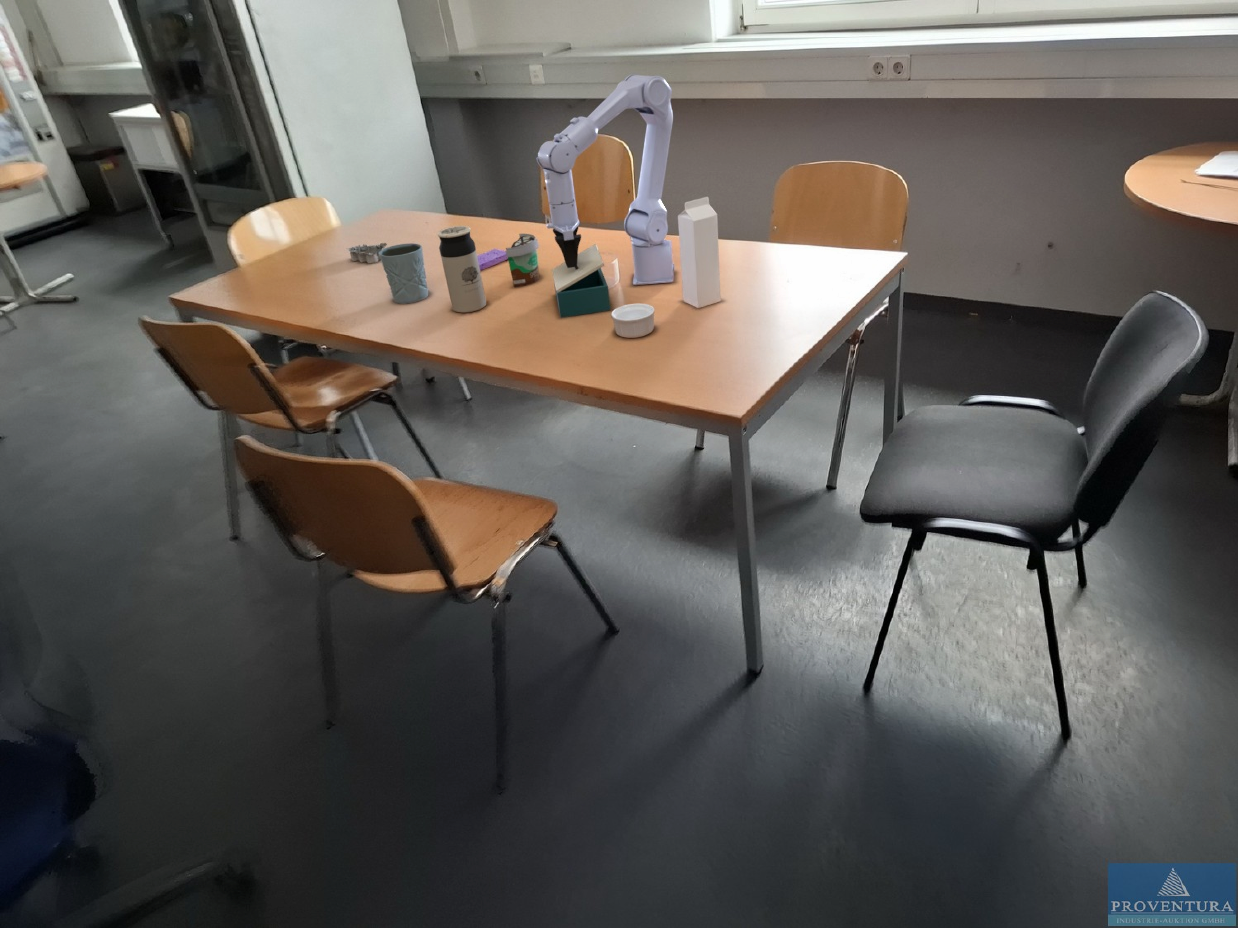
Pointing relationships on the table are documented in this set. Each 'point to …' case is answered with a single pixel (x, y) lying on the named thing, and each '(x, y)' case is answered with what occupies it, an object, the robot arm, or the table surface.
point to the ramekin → (633, 320)
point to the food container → (523, 260)
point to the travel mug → (461, 269)
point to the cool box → (584, 296)
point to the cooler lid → (577, 268)
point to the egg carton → (366, 253)
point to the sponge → (491, 258)
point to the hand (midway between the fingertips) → (571, 263)
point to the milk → (699, 253)
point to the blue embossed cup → (405, 272)
